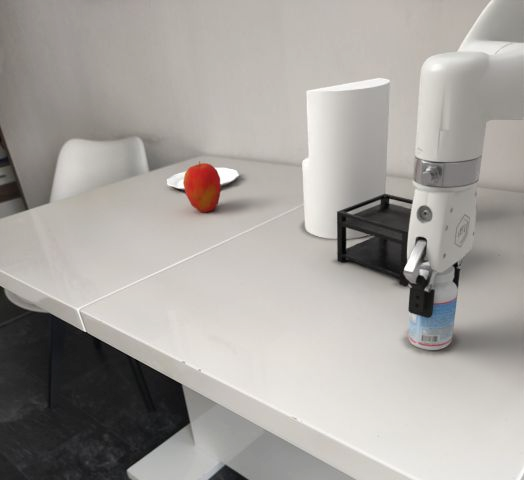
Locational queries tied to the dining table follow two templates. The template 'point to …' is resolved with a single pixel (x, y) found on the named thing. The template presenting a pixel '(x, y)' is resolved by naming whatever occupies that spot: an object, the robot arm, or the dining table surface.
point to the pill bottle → (436, 314)
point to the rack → (377, 235)
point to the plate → (224, 173)
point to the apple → (202, 186)
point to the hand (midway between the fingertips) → (433, 302)
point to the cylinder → (344, 152)
